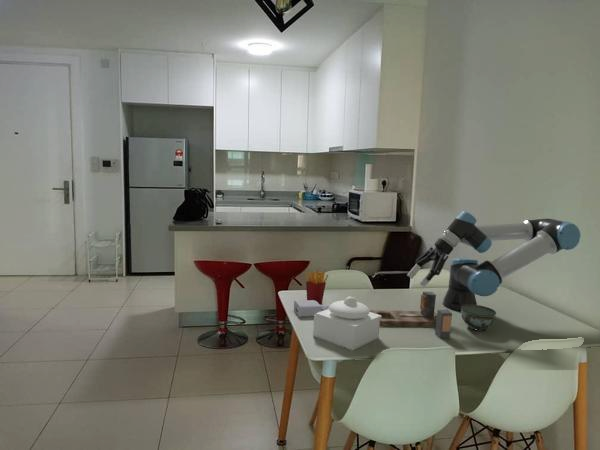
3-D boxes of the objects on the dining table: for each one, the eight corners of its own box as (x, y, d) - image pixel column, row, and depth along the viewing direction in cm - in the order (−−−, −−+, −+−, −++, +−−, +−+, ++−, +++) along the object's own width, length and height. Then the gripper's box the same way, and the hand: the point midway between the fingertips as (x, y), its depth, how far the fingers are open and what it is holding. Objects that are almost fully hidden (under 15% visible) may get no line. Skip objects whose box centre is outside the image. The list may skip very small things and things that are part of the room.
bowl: (454, 321, 196) (456, 303, 195) (486, 323, 196) (488, 305, 195) (464, 333, 182) (467, 313, 181) (499, 335, 182) (501, 316, 181)
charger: (333, 316, 193) (299, 317, 189) (326, 309, 202) (293, 310, 197) (334, 305, 192) (300, 306, 188) (327, 299, 201) (294, 299, 197)
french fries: (315, 306, 204) (317, 273, 202) (301, 301, 210) (303, 269, 207) (327, 302, 211) (330, 270, 209) (313, 298, 216) (315, 267, 214)
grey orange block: (435, 334, 179) (437, 309, 178) (444, 334, 180) (447, 309, 178) (440, 339, 174) (443, 313, 173) (450, 339, 175) (453, 313, 174)
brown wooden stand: (433, 315, 201) (436, 289, 200) (446, 326, 189) (450, 298, 187) (367, 314, 197) (369, 287, 195) (376, 325, 184) (378, 296, 183)
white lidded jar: (312, 336, 170) (315, 294, 167) (341, 325, 183) (344, 286, 181) (352, 351, 158) (356, 306, 156) (379, 338, 172) (383, 297, 170)
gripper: (428, 232, 209) (398, 268, 209) (454, 242, 184) (420, 283, 185) (440, 242, 210) (410, 278, 211) (467, 254, 186) (433, 294, 187)
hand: (415, 281), depth 198 cm, fingers open, 13 cm apart
